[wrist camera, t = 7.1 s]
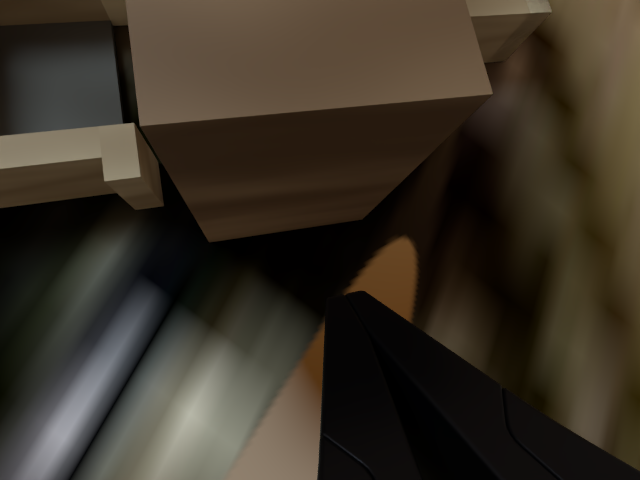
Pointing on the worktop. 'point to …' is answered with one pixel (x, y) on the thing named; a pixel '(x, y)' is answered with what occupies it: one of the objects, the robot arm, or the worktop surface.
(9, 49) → the rail channel
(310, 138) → the walnut block
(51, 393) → the worktop surface
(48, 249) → the worktop surface
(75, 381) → the worktop surface
